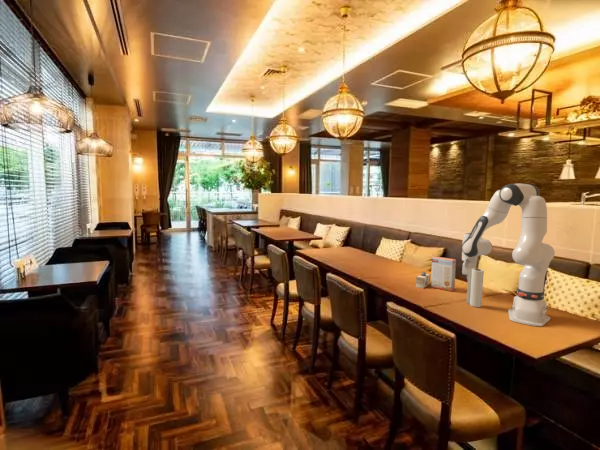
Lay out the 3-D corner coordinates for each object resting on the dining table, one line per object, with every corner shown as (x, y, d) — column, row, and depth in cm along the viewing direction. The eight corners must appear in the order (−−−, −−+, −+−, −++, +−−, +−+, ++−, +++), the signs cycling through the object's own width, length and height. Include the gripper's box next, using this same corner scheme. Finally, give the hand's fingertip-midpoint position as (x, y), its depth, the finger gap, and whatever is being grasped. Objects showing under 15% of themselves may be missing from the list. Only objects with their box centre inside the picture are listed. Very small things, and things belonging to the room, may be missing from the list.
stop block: (423, 288, 232) (423, 275, 231) (415, 286, 236) (416, 274, 235) (430, 283, 243) (430, 271, 242) (423, 282, 246) (423, 270, 245)
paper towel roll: (483, 307, 197) (486, 270, 194) (474, 307, 196) (476, 271, 193) (475, 303, 204) (477, 267, 201) (466, 303, 203) (468, 268, 200)
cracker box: (454, 289, 229) (456, 259, 227) (451, 291, 225) (452, 260, 223) (434, 285, 239) (435, 255, 237) (430, 287, 235) (431, 257, 233)
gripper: (470, 261, 209) (470, 283, 210) (478, 256, 225) (477, 276, 226) (459, 259, 213) (459, 281, 214) (468, 255, 229) (467, 275, 230)
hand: (468, 279), depth 220 cm, fingers closed
